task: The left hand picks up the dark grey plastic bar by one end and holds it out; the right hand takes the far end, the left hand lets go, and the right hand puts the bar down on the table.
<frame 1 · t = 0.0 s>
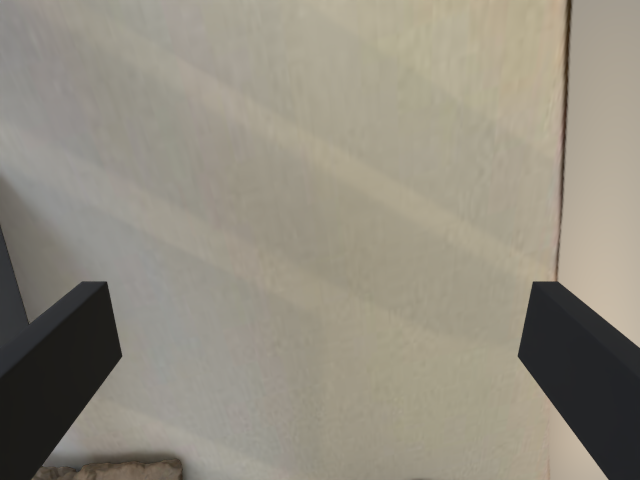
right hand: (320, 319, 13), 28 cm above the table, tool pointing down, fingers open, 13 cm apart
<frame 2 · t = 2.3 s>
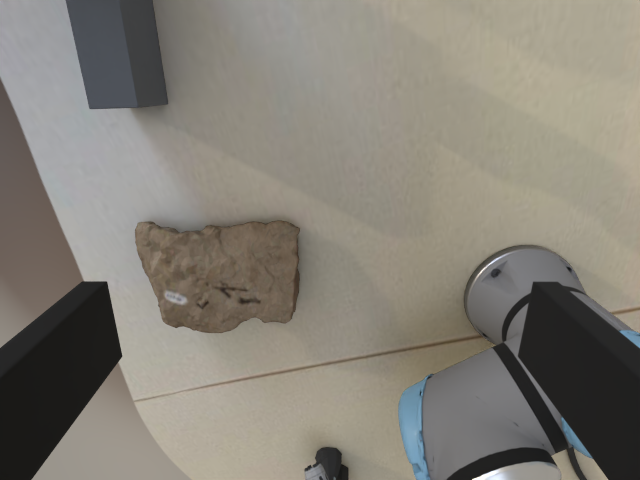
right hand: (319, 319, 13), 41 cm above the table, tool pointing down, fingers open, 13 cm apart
robot: (332, 463, 70), on the table
stone: (227, 263, 56), on the table
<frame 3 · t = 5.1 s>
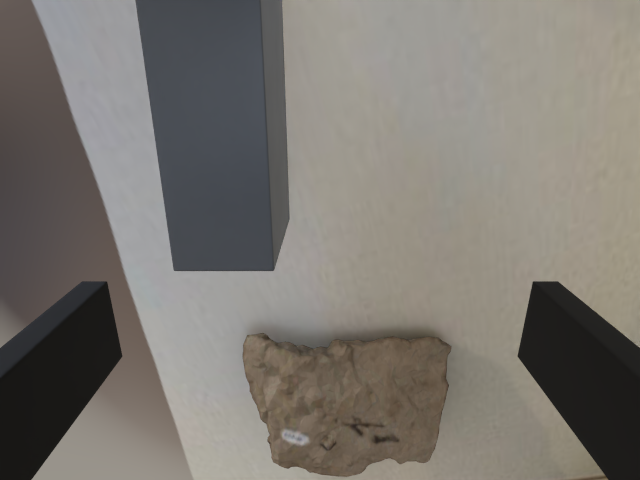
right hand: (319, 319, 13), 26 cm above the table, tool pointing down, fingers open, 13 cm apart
stone: (347, 379, 45), on the table
bar: (241, 32, 24), point 10 cm above the table, touching left hand
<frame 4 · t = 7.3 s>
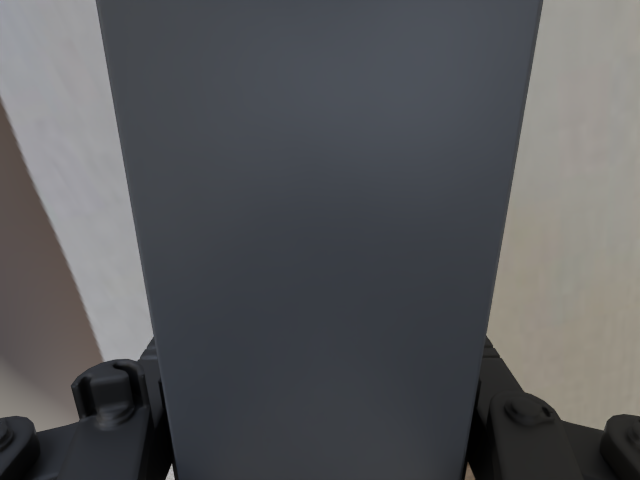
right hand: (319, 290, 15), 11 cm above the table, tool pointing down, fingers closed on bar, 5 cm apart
bar: (319, 71, 13), point 10 cm above the table, touching right hand, left hand
when the left hand's fingers open (15 cm above the table, at t = 8.1 s): bar stays where it is, held by the right hand.
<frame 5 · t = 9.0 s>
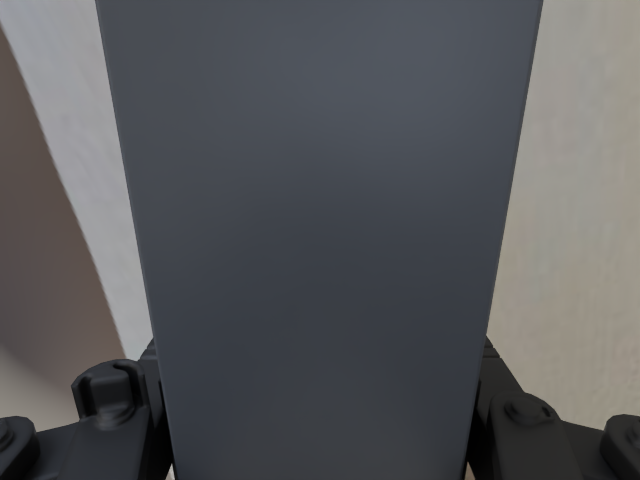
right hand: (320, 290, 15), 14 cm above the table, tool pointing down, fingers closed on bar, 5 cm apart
bar: (319, 71, 13), point 13 cm above the table, touching right hand
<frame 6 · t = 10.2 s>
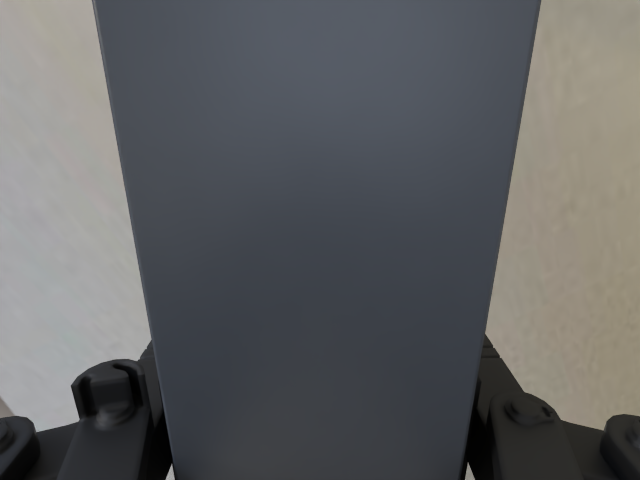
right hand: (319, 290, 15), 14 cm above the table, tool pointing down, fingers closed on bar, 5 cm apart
bar: (318, 70, 13), point 13 cm above the table, touching right hand
when the right hand's fingers open (2 cm above the table, at t = 13.3 s): bar drops 1 cm, on the table.
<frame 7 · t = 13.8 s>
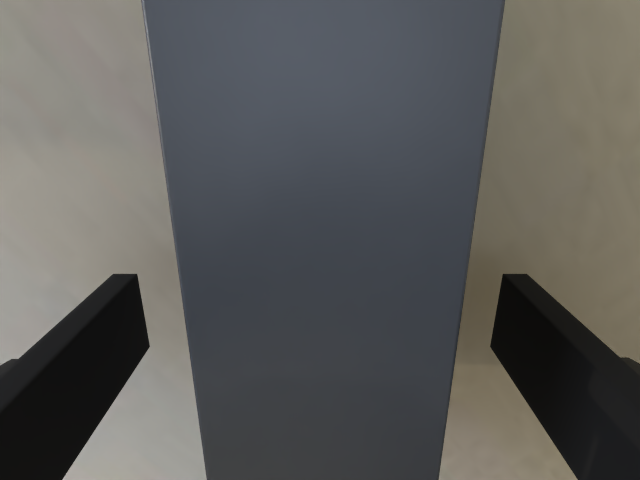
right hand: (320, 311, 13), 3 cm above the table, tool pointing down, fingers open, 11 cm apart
bar: (321, 75, 14), on the table
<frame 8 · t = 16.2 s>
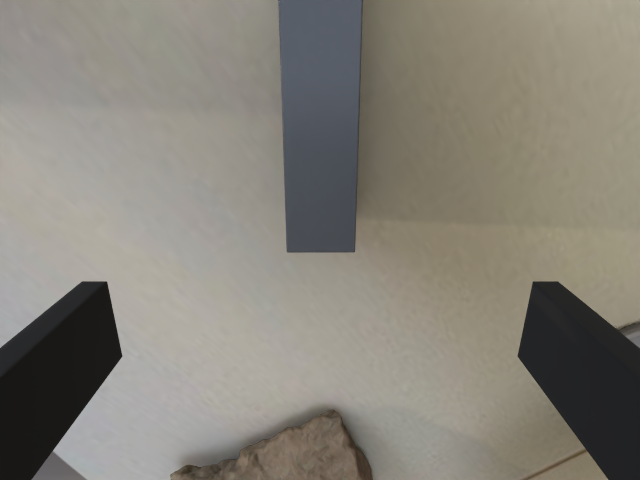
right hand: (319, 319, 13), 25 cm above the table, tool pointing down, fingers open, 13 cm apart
stone: (281, 467, 49), on the table
bar: (320, 82, 34), on the table
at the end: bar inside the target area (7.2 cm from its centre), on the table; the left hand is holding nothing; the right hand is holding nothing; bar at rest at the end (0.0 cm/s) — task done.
